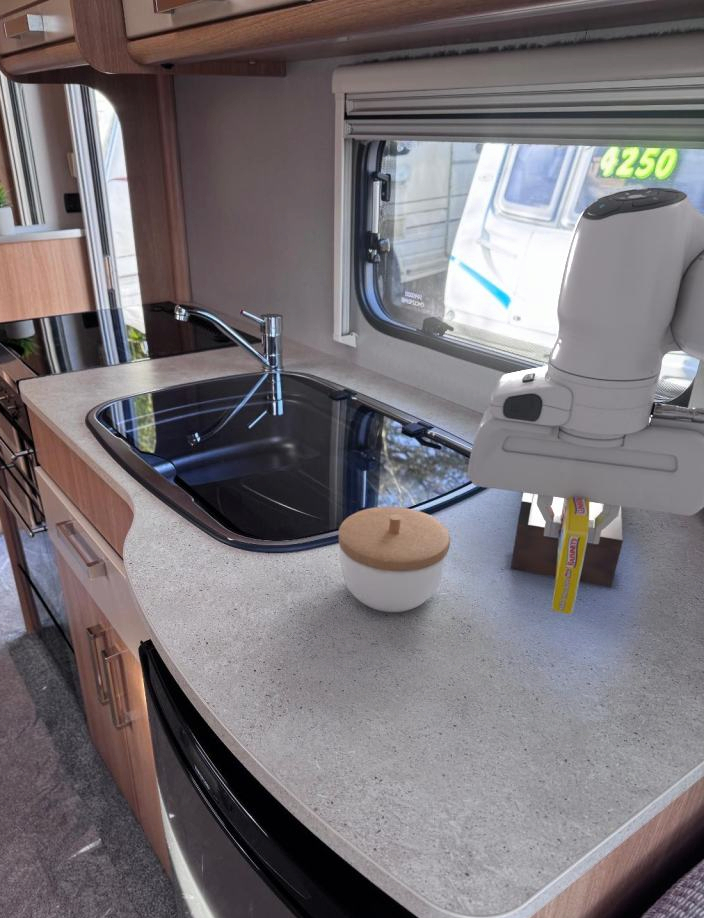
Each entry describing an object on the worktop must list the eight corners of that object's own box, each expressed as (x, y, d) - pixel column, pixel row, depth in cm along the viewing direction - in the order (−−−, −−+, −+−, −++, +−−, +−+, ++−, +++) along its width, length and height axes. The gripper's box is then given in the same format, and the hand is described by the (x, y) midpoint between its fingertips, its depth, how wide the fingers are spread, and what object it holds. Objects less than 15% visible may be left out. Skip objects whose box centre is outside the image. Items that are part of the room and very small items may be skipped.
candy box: (556, 524, 77) (572, 453, 73) (577, 527, 76) (594, 456, 72) (547, 610, 63) (566, 529, 59) (573, 616, 63) (593, 534, 59)
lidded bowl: (413, 644, 79) (421, 559, 73) (316, 606, 85) (317, 525, 79) (459, 589, 88) (469, 509, 83) (369, 558, 94) (373, 482, 89)
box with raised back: (608, 499, 109) (623, 435, 104) (610, 593, 88) (628, 518, 83) (527, 487, 113) (537, 424, 108) (509, 574, 91) (521, 501, 86)
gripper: (726, 398, 61) (687, 538, 68) (482, 375, 67) (468, 506, 74) (738, 425, 56) (694, 574, 63) (473, 396, 62) (458, 536, 68)
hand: (570, 537), depth 68 cm, fingers closed on candy box, 2 cm apart
